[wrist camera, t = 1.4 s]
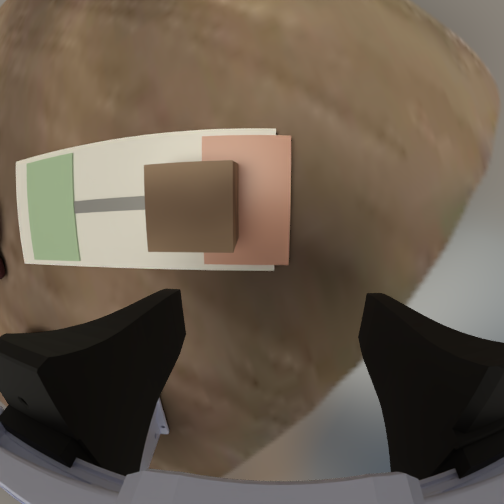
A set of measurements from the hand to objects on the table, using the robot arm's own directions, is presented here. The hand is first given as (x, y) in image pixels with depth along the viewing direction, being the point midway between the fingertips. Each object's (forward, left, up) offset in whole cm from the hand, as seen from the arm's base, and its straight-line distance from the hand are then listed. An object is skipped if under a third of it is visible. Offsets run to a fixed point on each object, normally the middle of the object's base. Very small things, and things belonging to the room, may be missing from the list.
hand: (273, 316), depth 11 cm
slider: (+4, +4, -9) cm, 11 cm away
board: (+4, +11, -11) cm, 16 cm away
